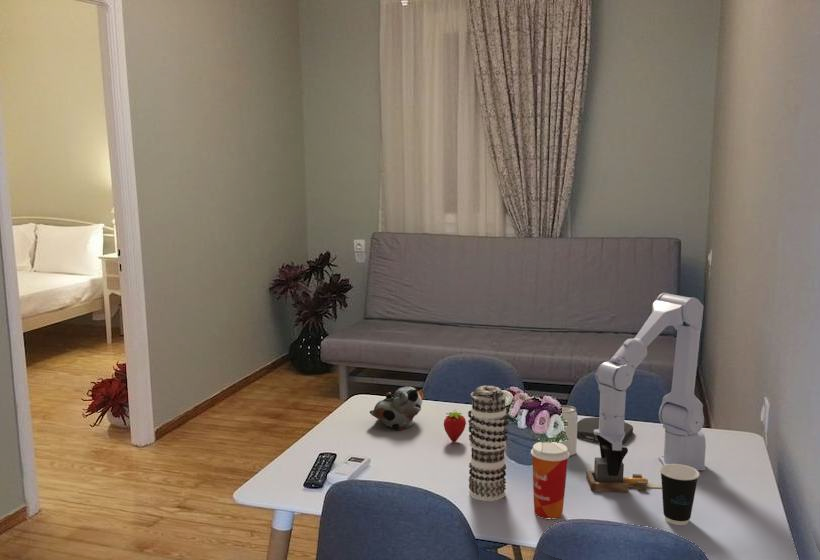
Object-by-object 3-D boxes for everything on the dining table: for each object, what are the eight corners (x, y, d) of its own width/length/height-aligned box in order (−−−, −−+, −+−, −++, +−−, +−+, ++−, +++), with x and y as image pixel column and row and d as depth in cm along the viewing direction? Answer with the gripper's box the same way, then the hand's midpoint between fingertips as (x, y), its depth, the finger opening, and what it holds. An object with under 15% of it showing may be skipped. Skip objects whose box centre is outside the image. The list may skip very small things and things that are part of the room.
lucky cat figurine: (384, 413, 225) (405, 374, 224) (414, 435, 220) (437, 395, 219) (361, 413, 212) (384, 372, 211) (393, 436, 207) (417, 394, 206)
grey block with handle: (645, 483, 175) (647, 459, 175) (650, 490, 172) (651, 465, 171) (593, 481, 176) (594, 457, 176) (596, 488, 172) (597, 463, 172)
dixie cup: (676, 531, 151) (678, 481, 150) (649, 515, 159) (651, 467, 157) (704, 524, 155) (708, 474, 153) (677, 508, 162) (679, 461, 160)
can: (576, 457, 191) (578, 413, 189) (551, 455, 192) (552, 411, 190) (576, 448, 197) (577, 405, 195) (551, 446, 198) (552, 404, 197)
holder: (656, 480, 177) (656, 472, 177) (664, 493, 170) (665, 485, 169) (586, 477, 178) (586, 470, 178) (591, 490, 171) (591, 483, 171)
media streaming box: (636, 432, 211) (636, 422, 210) (621, 448, 198) (621, 437, 198) (586, 423, 218) (587, 413, 218) (569, 437, 206) (569, 427, 206)
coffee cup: (525, 505, 163) (526, 440, 161) (561, 503, 164) (563, 439, 162) (534, 523, 155) (536, 455, 153) (572, 521, 156) (575, 454, 154)
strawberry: (469, 439, 204) (469, 404, 202) (460, 448, 197) (460, 412, 196) (449, 436, 206) (449, 401, 205) (439, 445, 199) (439, 409, 198)
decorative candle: (496, 505, 163) (499, 397, 160) (460, 496, 168) (461, 390, 164) (513, 490, 171) (516, 386, 167) (478, 481, 176) (479, 380, 172)
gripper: (589, 403, 179) (587, 456, 181) (600, 423, 165) (598, 480, 167) (619, 403, 179) (616, 457, 181) (632, 424, 164) (629, 481, 166)
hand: (609, 468), depth 174 cm, fingers open, 7 cm apart
